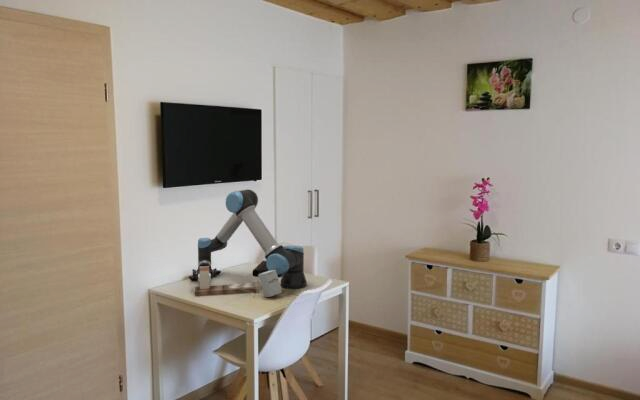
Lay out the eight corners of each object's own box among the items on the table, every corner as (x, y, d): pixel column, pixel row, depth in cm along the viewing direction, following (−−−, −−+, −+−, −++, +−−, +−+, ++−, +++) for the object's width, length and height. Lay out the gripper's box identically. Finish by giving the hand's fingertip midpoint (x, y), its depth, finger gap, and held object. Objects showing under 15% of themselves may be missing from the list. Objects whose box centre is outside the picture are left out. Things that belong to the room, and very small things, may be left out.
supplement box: (271, 296, 266) (265, 273, 266) (264, 297, 272) (257, 274, 272) (282, 292, 271) (276, 269, 271) (274, 292, 277) (268, 270, 277)
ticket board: (255, 287, 289) (255, 282, 289) (256, 292, 279) (256, 287, 279) (195, 291, 282) (195, 285, 282) (195, 296, 272) (194, 290, 272)
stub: (209, 287, 280) (209, 266, 278) (209, 288, 277) (209, 267, 276) (200, 287, 279) (199, 266, 277) (199, 289, 276) (199, 267, 275)
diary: (252, 277, 314) (251, 269, 313) (261, 267, 338) (261, 260, 338) (281, 278, 311) (281, 270, 311) (289, 268, 336) (289, 260, 335)
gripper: (220, 273, 297) (221, 284, 274) (188, 275, 293) (187, 286, 271) (220, 261, 296) (221, 271, 274) (188, 262, 292) (186, 272, 270)
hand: (204, 278), depth 272 cm, fingers closed on stub, 5 cm apart
